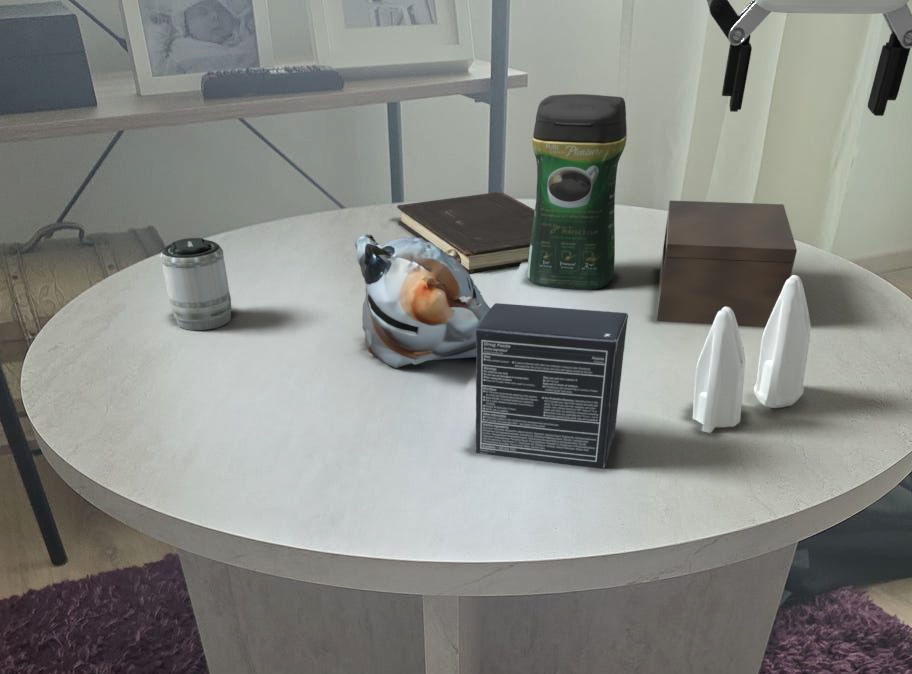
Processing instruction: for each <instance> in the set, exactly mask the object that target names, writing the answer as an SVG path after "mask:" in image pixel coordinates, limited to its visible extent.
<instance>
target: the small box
mask: <svg viewBox="0 0 912 674" xmlns="http://www.w3.org/2000/svg"><path fill="white" fill-rule="evenodd" d="M490 308H491V309H490V310H489V311H488V313H487V314H486V315H485V317H484V318H483V320H482V321H481V322H480V324H479V325H478V327H477V328H476V343H477V346H476V354H477V357H476V361H475V363H476V364H475V365H476V366H475V367H476V368H475V369H476V372H475V445H474V453H475V454H481V455H488V456H496V457H503V458H513V459H519V460H528V461H534V462H535V461H536V462H543V463H550V464H551V463H553V464H559V465H567V466H576V467H585V468H593V469H601V470H603V469H606V468H608V459H609V457H610V454H611V453H610V452H611V450H612V446H613V443H614V440H615V436H616V428H617V427H616V426H617V418H618V408H619V399H620V391H621V390H620V388H621V381H622V373H623V363H624V362H623V361H624V353H625V347H626V346H625V344H626V335H627V326H628V319H629V314H628V312H619V311H616V312H615V311H605V310H604V311H603V310H593V309H592V310H590V309H580V308H579V309H578V308H577V309H576V308H565V307H564V308H563V307H553V306H552V307H551V306H540V305H539V306H538V305H526V304H525V305H524V304H511V303H499V302H495V303H494V304H493V305H492V306H491V307H490Z"/></svg>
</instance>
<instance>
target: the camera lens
mask: <svg viewBox="0 0 912 674" xmlns="http://www.w3.org/2000/svg"><path fill="white" fill-rule="evenodd" d="M159 257H160V262H161V268H162V271H163V277H164V281H165V282H164V283H165V286H166V290H167V296H168V299H169V305H170V308H171V311H172V314H173V317H174V319H175V320H176V323H177V325H178V327H180V328H182V329H185V330H189V331H206V330H207V331H208V330H213V329H216V328H220V327H223V326H225V325H226V324H228V323H229V322H230V321H231V319H232V314H231V311H232V297H231V293H230V287H229V281H228V274H227V268H226V263H225V262H226V261H225V257H224V250H223V248H222V247H221V246H220V245H219V243H217V242H216V241H213V240H209V239H207V238H205V239H204V238H203V237H189V238H188V237H187V238H181V239H178V240H174V241H173V242H172V243H170V244H168V245H166V246H164V248H163V249H162V250H161V253H160V256H159Z"/></svg>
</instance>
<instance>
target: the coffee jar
mask: <svg viewBox="0 0 912 674" xmlns="http://www.w3.org/2000/svg"><path fill="white" fill-rule="evenodd" d="M534 122H535V123H534V128H533V134H532V149H533V154H534V157H535V160H536V191H535V205H534V210H535V212H534V220H533V228H532V236H531V243H530V251H529V259H528V261H527V273H526V274H527V279H528V281H529V282H530V283H531V284H532V285H534V286H538V287H545V288H553V289H560V290H561V289H563V290H575V291H596V290H599V289H602V288H604V287H607V286H608V285H609V284H610V283H611V281H612V280H613V277H614V273H615V258H616V255H615V254H616V243H615V242H616V238H615V237H616V236H615V235H616V233H615V232H616V231H615V230H616V229H615V226H616V225H615V212H616V211H615V209H616V208H615V207H616V205H615V204H616V186H617V173H618V165H619V161H620V158H621V156H622V155H623V152H624V150H625V148H626V145H627V144H626V143H627V138H628V134H627V133H628V132H627V129H628V128H627V108H626V101H625V99H624V98H623V97H622V96H612V95H601V94H589V93H587V94H586V93H584V94H582V93H570V94H569V93H568V94H552V95H551V94H550V95H548V96H547V97H545V98H543V99H542V100H541V101H540V102H539V103H538V107H537V111H536V116H535V121H534Z"/></svg>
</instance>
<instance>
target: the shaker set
mask: <svg viewBox="0 0 912 674" xmlns="http://www.w3.org/2000/svg"><path fill="white" fill-rule="evenodd" d="M807 302H808V301H807V297H806V294H805V289H804V285H803V282H802V279H801V277H800V276H799V275H797V274H791V277H790V278H789V279H787V280H786V282H785V284H784V286H783V289H782V291H781V293H780V295H779V298H778V300H777V302H776V304H775V306H774V309H773V311H772V313H771V315H770V318H769V320H768V322H767V325H766V327H764V329H763V333H762V335H761V336H762V337H761V341H760V350H759V358H758V366H757V376H756V383H755V384H754V388H753V392H754V395H755V396H756V398H757V400H758V401H759V403H760V404H762V405H764V406H765V407H767V408H769V409H770V408H771V409H782V408H786V407H791V406H793V405H794V404H795V403H797V402H798V401H799V399H800V398H801V397H802V396H803V394H804V389H805V388H804V380H805V374H806V368H807V361H808V353H809V348H810V347H809V346H810V338H811V328H812V327H811V321H810V320H811V319H810V313H809V307H808V303H807ZM742 340H743V339H742V336H741V332H740V329H739V326H738V325H737V321H736V318H735V315H734V312H733V310H732V309H731V308H730V307H723V308H722V309H721V311H718V313H717V315H716V317H715V319H714V322H713V324H711V327H710V329H709V332H708V334H707V337H706V339H705V341H704V344H703V347H702V350H701V352H700V355H699V357H698V360H697V362H696V368H695V376H694V390H693V405H692V420H695V421H697V422H698V423H699V424H702V428H701V431H702V432H705V433H709V434H711V433H712V432H714V429H715V428H730V427H731V428H734V427H735V426H737V425H738V424H740V423H741V419H742V418H741V417H742V405H743V397H744V396H743V395H744V384H745V372H746V355H745V350H744V345H743V341H742Z"/></svg>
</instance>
